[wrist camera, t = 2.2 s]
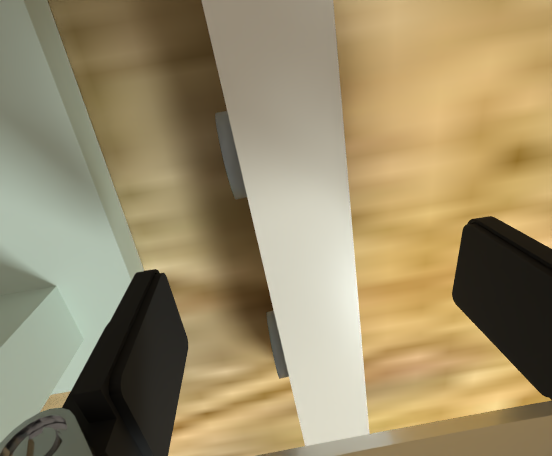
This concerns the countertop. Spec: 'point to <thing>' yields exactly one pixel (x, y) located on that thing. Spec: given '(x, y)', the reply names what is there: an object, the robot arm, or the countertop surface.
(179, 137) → the countertop surface
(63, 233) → the display stand
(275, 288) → the cream rectangular beam
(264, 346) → the countertop surface
